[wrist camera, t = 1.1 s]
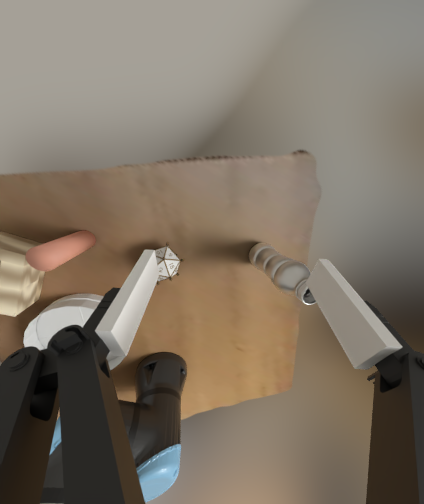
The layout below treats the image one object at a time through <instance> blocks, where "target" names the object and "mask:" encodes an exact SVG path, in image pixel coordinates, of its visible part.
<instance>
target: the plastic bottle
mask: <svg viewBox="0 0 424 504" xmlns="http://www.w3.org/2000/svg"><path fill="white" fill-rule="evenodd" d="M249 260H250V262H251V264H252V265H253V266H254V267H256V268H258V269H260V270H261V271H263V272H264V273H265V274H266V275H267V276H268V277H269V278H270V279H271V281H272V282H273V284H274V285H275V286H276V288H277V289H278V290H279V291H280V292H282V293H284V294H286V295H295V296H296V297H297V298H298V299H300V300H301V301H302V302H303V303H305V304H307V305H312V304H314V303H316V300H315V299H314V297H313V295H312V293H311V292H310V290H309V288H308V286H307V285H306V281H307V279H308V278H309V276H310V271H309V269H308V268H307V267H306V265H304V264H303V263H301V262H299V261H296V260H293V259H290V258H287V257H285V256H283V255H281V254H280V253H279V252H277V251H276V250H275V249H274V248H273V247H272V246H271V245H270V244H267V243H258V244H256V245H255V246H253V247H252V249H251V250H250V252H249Z"/></svg>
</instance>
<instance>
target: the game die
mask: <svg viewBox="0 0 424 504" xmlns="http://www.w3.org/2000/svg"><path fill="white" fill-rule="evenodd" d="M166 245H167V246H165V247H162V248H159V249H155V255H156V260H157V265H158V270H159V277H158V280H157V281H158V282H157V285H158V284H159V281H162V280H165V279H168V278H170V280H171V281H172V278H171V277H172V276H174V275H175V274H176V275H177V276H179V274H178V273H177V271H178V268H179V265H180V261H184V259H181V260H180V259H179V258H178V257H177V254H175V253H174V252H173V251H172V250H171V249H170V248H169V247H168V245H169V243H166Z"/></svg>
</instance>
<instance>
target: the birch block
mask: <svg viewBox="0 0 424 504" xmlns="http://www.w3.org/2000/svg"><path fill="white" fill-rule="evenodd" d="M41 244H42V243H39V242H36V241H33V240H29V239H26V238H23V237H20V236H16V235H13V234H10V233H6V232H3V231H0V314H4V315H9V316H14V317H15V316H17V315H18V314H19V313H21V312H22V311H24V310H25V309H26V308H28V307H29V306H30V305H32V304H33V303H35V302H36V301H37V300H39V298H40V293H41V289H42V284H43V279H44V274H45V271H39V270H36V269H34V268H33V267H31V266H30V265H29V263H28V262H27V260H26V253H27V251H28V250H29V249H30V248H33V247H36V246H38V245H41Z"/></svg>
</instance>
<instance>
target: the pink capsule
mask: <svg viewBox="0 0 424 504" xmlns="http://www.w3.org/2000/svg"><path fill="white" fill-rule="evenodd" d="M95 243H96V239H95V236H94V235H93V234H92V233H91V232H89V231H86V230H82V231H78V232H76V233H73V234H70V235H67V236H64V237H61V238H58V239H56V240H53V241H50V242H47V243H44V244H41V245H38V246H36V247H33V248H30V249H29V250H28V251H27V253H26V260H27V262H28V263H29V265H30V266H31V267H33V268H34V269H36V270H39V271H50V270H53V269H54V268H56V267H58V266H60V265H61V264H63V263H65V262H67V261H68V260H70V259H72V258H74V257H75V256H77V255H79V254H81V253H82V252H84V251H86V250H88V249H89V248H91V247H93V246H94V245H95Z"/></svg>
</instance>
